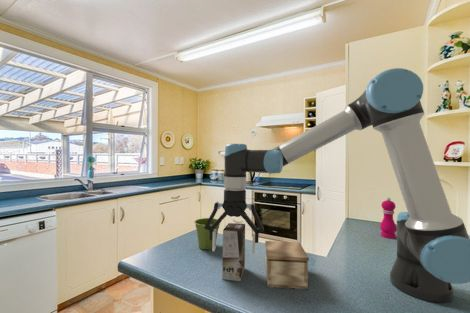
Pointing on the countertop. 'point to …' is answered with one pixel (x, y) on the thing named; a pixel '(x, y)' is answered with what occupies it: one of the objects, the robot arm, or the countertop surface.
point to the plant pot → (205, 233)
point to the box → (287, 273)
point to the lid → (285, 251)
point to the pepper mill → (388, 220)
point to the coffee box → (233, 251)
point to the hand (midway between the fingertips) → (233, 250)
